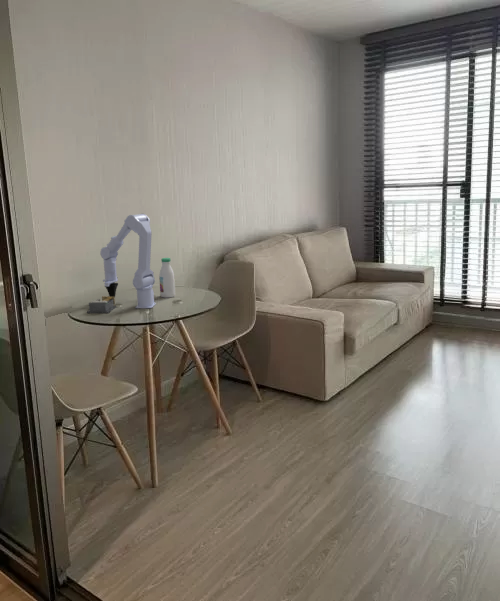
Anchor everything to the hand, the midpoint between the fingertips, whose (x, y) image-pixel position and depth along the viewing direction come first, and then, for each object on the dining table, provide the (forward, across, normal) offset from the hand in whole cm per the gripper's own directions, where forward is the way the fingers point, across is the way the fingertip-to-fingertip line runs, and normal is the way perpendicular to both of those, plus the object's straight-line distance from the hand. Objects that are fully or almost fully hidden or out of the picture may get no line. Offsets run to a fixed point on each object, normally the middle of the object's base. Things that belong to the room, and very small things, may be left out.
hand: (112, 297), depth 271 cm
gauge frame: (+2, +16, 0) cm, 16 cm away
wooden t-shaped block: (+2, +11, 0) cm, 11 cm away
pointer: (+1, +19, 0) cm, 19 cm away
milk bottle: (+2, -13, +25) cm, 28 cm away
